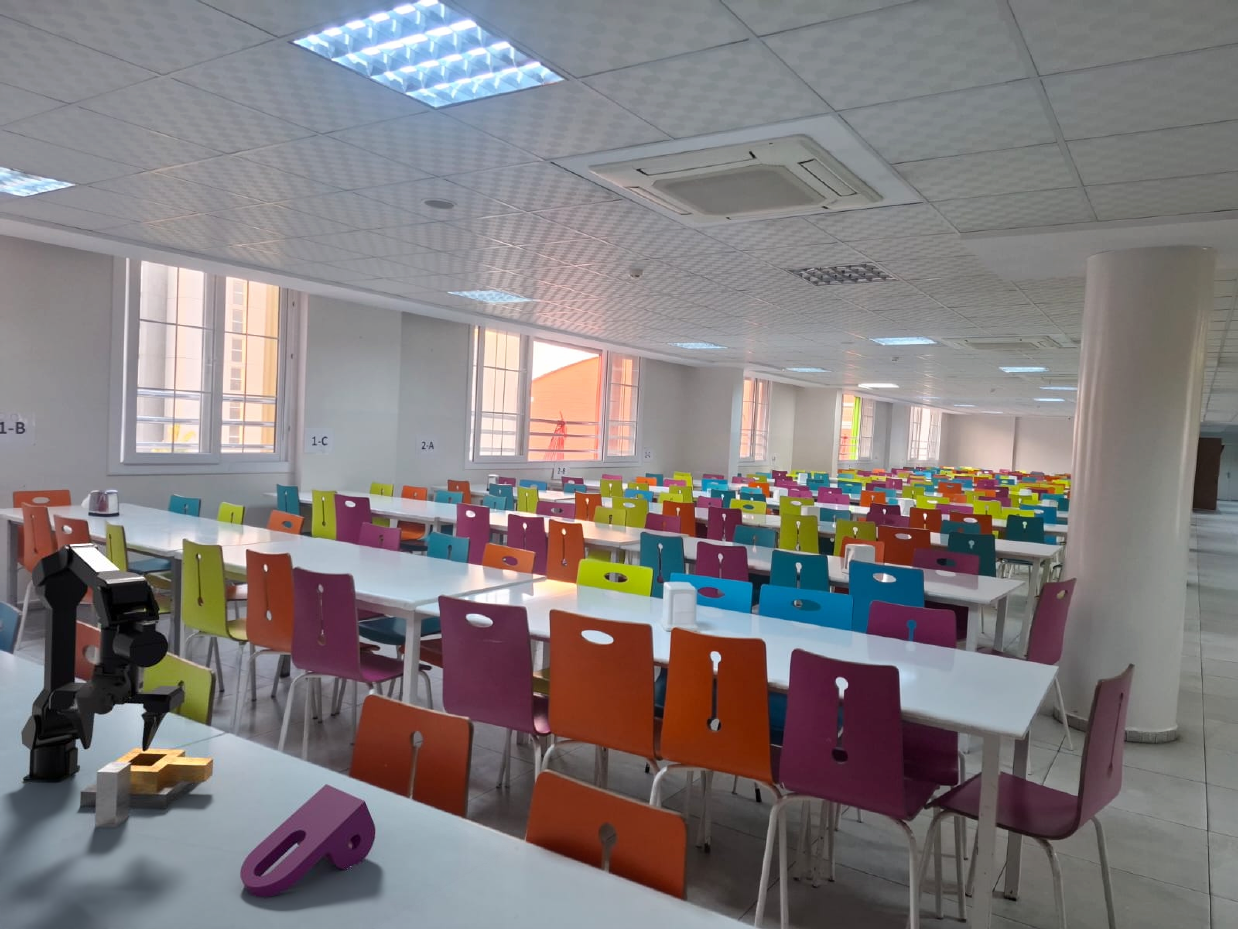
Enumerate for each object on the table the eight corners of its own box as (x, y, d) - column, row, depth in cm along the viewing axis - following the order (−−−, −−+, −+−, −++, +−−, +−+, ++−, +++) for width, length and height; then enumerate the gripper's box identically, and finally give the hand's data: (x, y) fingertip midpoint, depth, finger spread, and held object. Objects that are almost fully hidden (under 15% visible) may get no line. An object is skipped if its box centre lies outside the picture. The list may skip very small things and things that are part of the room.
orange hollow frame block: (80, 806, 139) (81, 774, 139) (125, 773, 153) (126, 743, 153) (189, 810, 140) (190, 777, 140) (224, 776, 154) (226, 747, 154)
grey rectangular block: (94, 827, 132) (97, 771, 132) (108, 815, 136) (111, 762, 136) (115, 827, 132) (117, 772, 132) (128, 816, 136) (131, 762, 136)
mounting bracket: (286, 938, 116) (381, 841, 129) (265, 896, 113) (365, 801, 126) (248, 914, 121) (343, 822, 134) (226, 873, 118) (326, 784, 131)
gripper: (27, 665, 125) (23, 767, 126) (154, 670, 126) (150, 771, 127) (72, 647, 136) (68, 740, 137) (188, 652, 137) (183, 744, 138)
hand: (116, 749), depth 134 cm, fingers open, 9 cm apart
